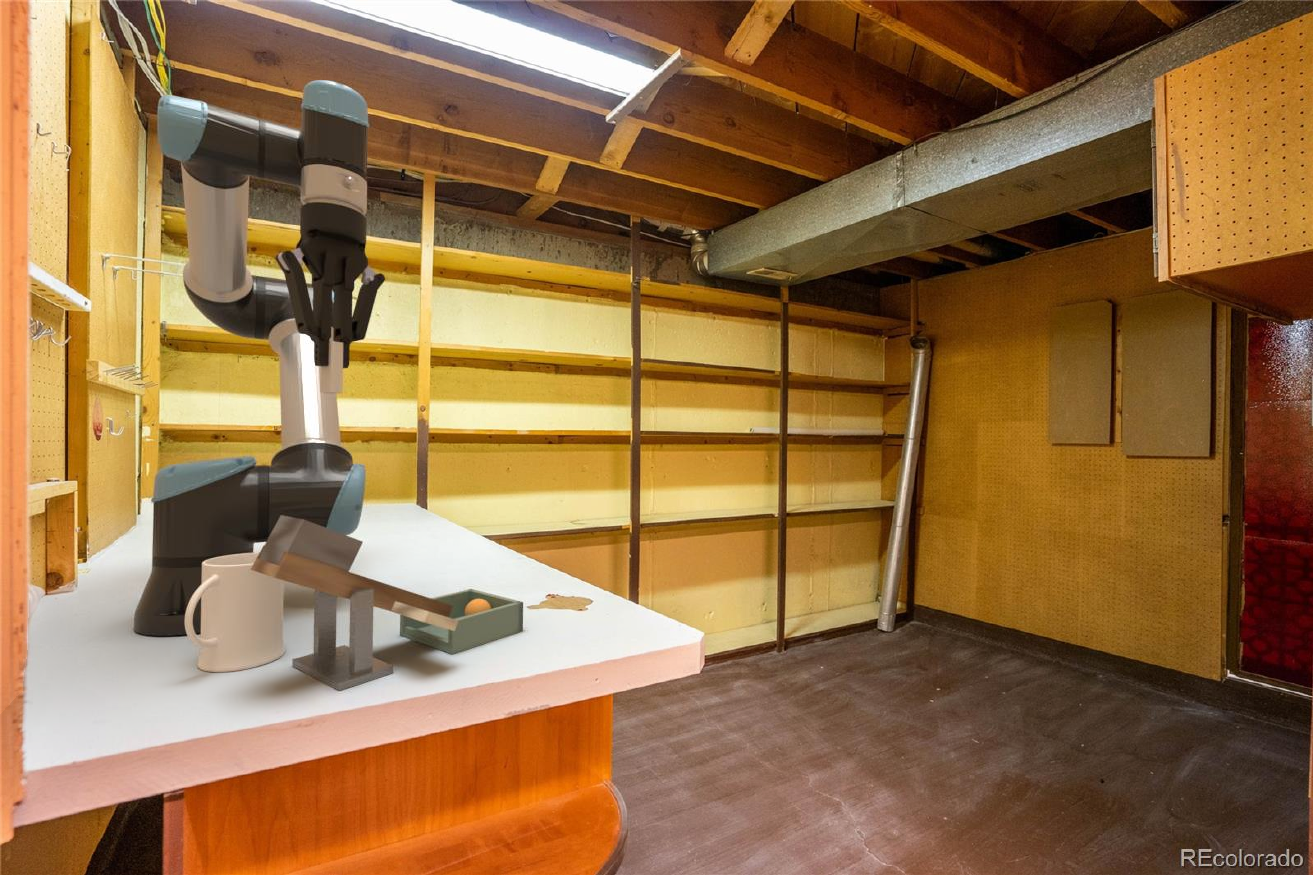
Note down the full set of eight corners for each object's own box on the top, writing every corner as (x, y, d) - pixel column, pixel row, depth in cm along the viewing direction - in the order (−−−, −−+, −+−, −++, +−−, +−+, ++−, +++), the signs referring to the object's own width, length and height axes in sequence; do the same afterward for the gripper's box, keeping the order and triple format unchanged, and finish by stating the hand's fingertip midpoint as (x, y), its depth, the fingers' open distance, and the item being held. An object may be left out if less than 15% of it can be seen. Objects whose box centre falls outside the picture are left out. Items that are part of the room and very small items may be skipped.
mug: (212, 688, 62) (214, 574, 62) (147, 680, 64) (149, 570, 64) (301, 649, 74) (303, 553, 74) (244, 643, 75) (246, 550, 75)
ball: (484, 605, 86) (469, 627, 84) (470, 591, 84) (454, 614, 82) (500, 609, 84) (486, 632, 81) (486, 596, 81) (470, 618, 79)
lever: (249, 569, 62) (279, 514, 65) (417, 617, 78) (436, 572, 81) (306, 588, 55) (337, 526, 57) (478, 637, 71) (497, 587, 73)
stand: (292, 666, 68) (293, 581, 68) (344, 651, 73) (345, 572, 73) (339, 690, 62) (340, 597, 62) (393, 672, 67) (394, 586, 67)
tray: (399, 635, 79) (400, 605, 79) (470, 615, 88) (471, 588, 88) (452, 654, 72) (452, 622, 72) (522, 630, 82) (523, 602, 82)
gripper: (292, 185, 68) (289, 387, 68) (397, 220, 79) (395, 395, 79) (265, 200, 73) (262, 390, 73) (368, 231, 83) (365, 397, 83)
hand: (331, 392), depth 76 cm, fingers closed
